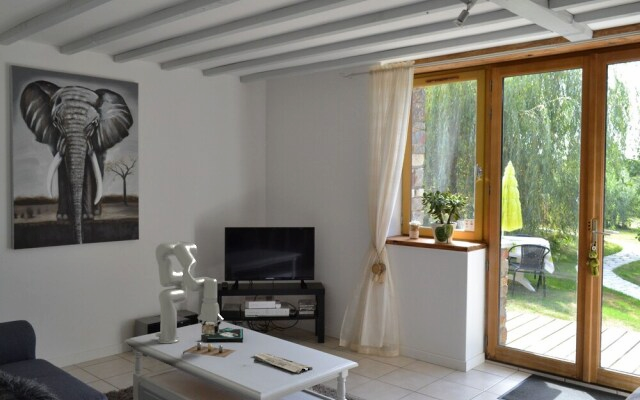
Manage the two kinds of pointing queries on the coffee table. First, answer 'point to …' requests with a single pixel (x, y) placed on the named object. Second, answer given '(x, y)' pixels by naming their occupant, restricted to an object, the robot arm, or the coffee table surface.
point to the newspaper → (281, 362)
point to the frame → (208, 329)
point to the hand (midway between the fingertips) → (210, 331)
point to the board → (205, 351)
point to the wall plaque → (224, 336)
